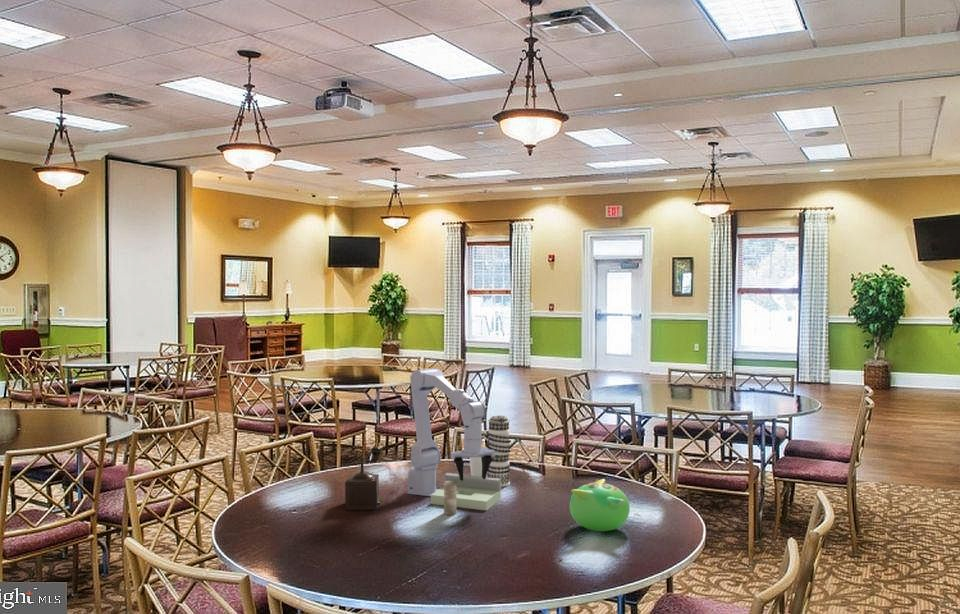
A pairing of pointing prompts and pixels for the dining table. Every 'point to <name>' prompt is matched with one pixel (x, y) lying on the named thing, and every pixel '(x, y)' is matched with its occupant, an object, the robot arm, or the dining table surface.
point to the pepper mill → (363, 487)
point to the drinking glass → (477, 464)
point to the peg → (450, 497)
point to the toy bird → (599, 506)
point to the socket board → (471, 492)
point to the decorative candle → (499, 448)
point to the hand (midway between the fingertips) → (472, 479)
